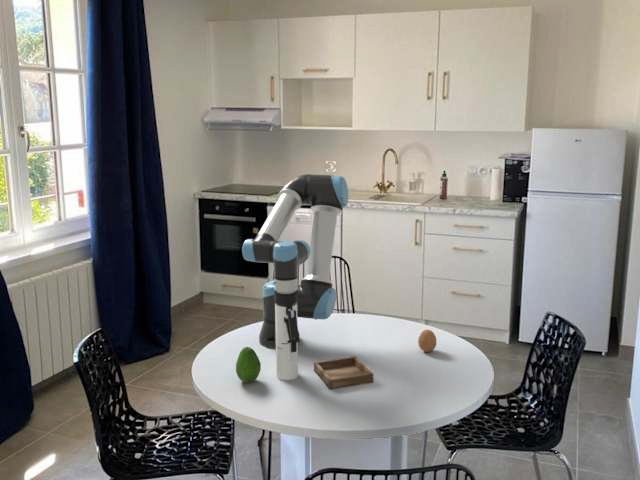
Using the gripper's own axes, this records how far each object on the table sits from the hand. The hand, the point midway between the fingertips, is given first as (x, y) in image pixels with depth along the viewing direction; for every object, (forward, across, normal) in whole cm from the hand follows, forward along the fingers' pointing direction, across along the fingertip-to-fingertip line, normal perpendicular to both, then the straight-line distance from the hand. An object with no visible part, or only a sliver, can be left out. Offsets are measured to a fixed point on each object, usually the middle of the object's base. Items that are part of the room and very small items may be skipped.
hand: (286, 352), depth 212 cm
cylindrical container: (+8, 0, 0) cm, 8 cm away
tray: (+8, +7, +17) cm, 20 cm away
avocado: (+8, 0, -13) cm, 15 cm away
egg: (+8, -2, +53) cm, 54 cm away
